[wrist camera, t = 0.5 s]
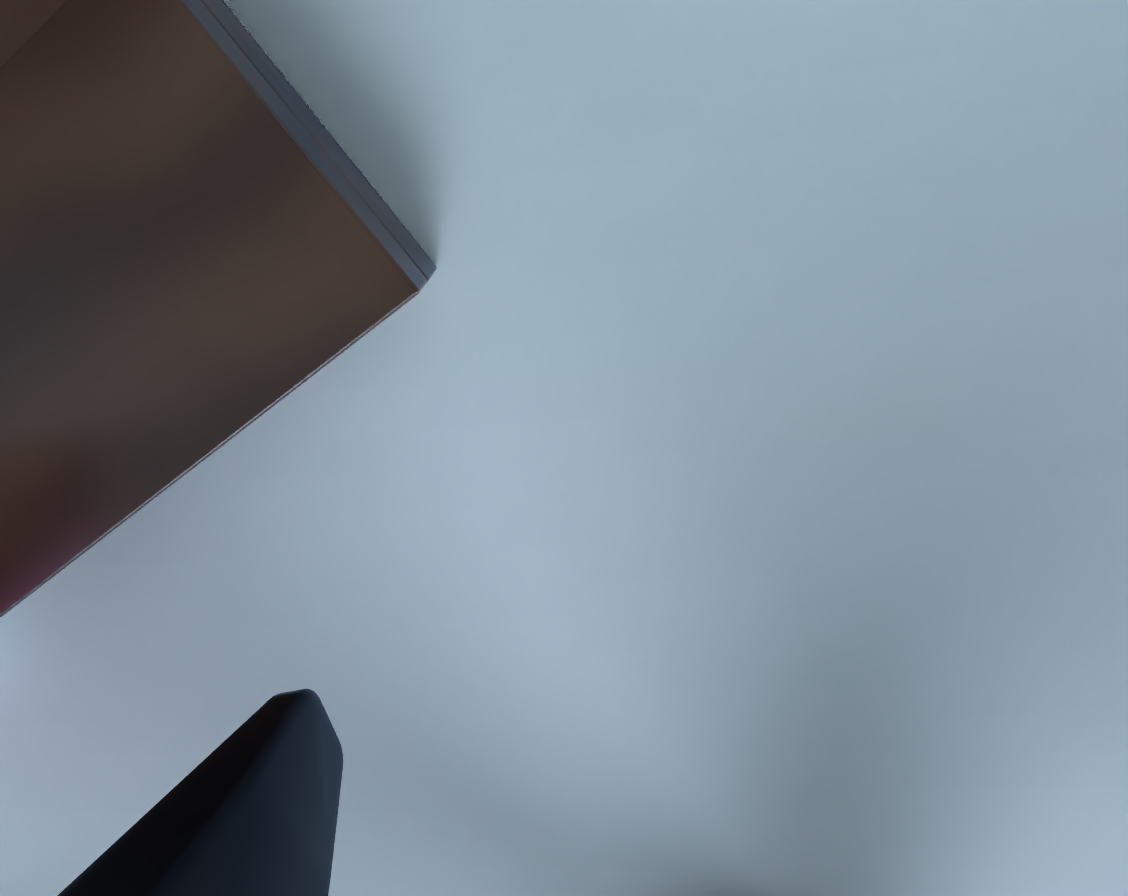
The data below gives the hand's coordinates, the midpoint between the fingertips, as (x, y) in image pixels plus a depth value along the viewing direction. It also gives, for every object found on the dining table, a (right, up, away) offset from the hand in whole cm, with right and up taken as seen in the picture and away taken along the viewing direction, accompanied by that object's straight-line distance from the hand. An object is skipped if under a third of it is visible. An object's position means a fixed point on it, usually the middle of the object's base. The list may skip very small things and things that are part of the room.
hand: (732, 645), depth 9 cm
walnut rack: (-14, +6, +14) cm, 20 cm away
